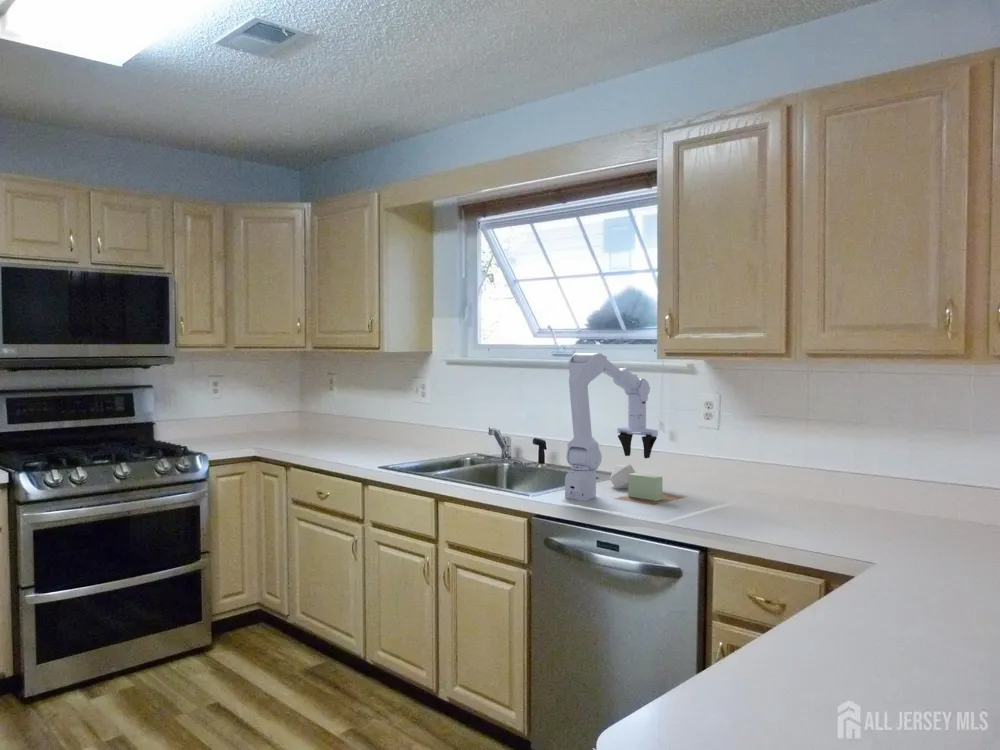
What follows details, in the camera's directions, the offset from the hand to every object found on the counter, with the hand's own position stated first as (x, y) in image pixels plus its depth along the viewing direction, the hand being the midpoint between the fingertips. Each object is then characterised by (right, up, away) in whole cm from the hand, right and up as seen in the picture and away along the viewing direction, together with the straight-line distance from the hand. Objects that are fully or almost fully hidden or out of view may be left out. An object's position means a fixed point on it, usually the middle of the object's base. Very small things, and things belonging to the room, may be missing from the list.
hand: (637, 456), depth 250 cm
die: (-5, -10, -3) cm, 12 cm away
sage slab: (-2, -10, -22) cm, 24 cm away
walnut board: (+1, -11, -20) cm, 22 cm away
